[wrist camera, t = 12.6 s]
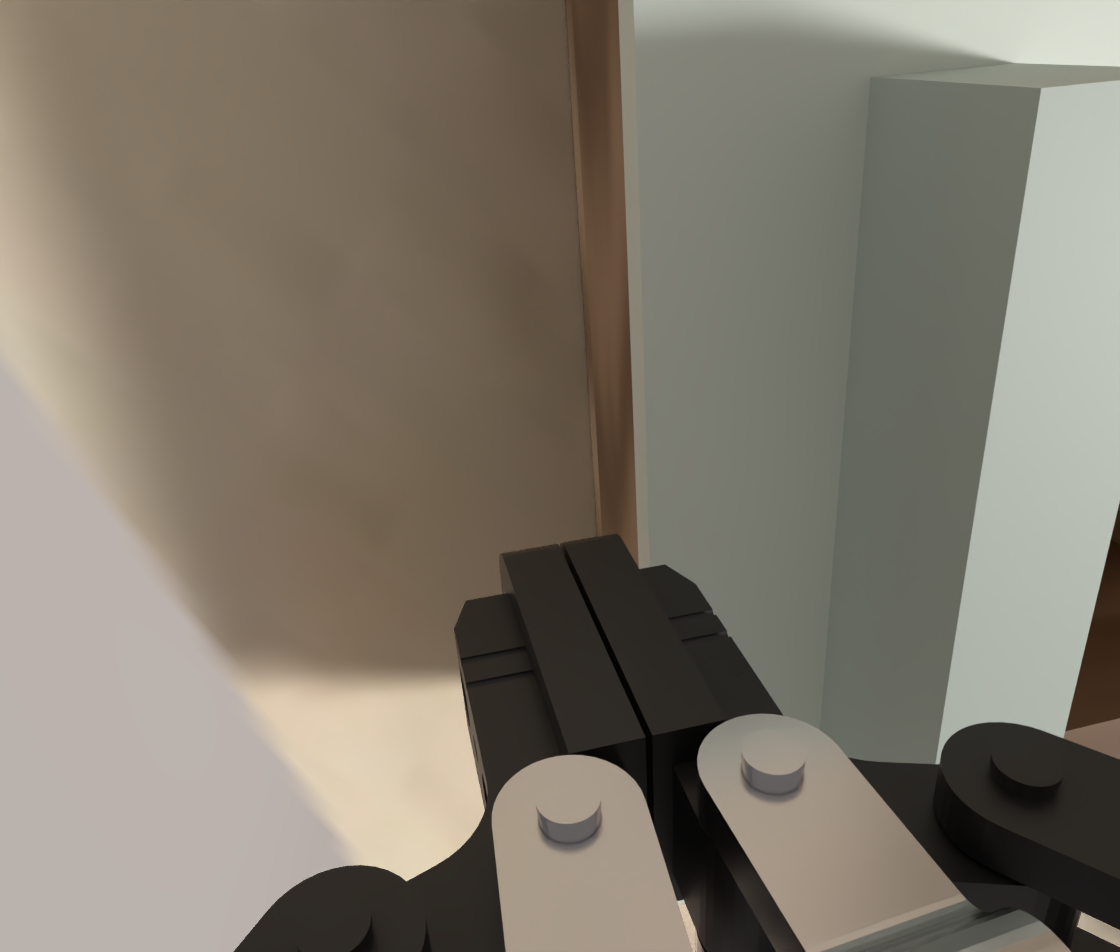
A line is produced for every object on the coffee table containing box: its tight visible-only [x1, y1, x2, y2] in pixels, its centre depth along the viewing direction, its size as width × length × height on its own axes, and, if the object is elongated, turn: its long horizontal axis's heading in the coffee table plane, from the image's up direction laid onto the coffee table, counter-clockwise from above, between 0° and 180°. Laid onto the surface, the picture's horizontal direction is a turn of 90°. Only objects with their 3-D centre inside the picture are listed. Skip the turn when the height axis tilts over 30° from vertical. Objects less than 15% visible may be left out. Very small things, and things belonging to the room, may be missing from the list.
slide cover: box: [618, 0, 1120, 905], centre depth 13 cm, size 16×8×4 cm, turn 4°
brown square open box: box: [565, 0, 1120, 759], centre depth 18 cm, size 17×17×6 cm
